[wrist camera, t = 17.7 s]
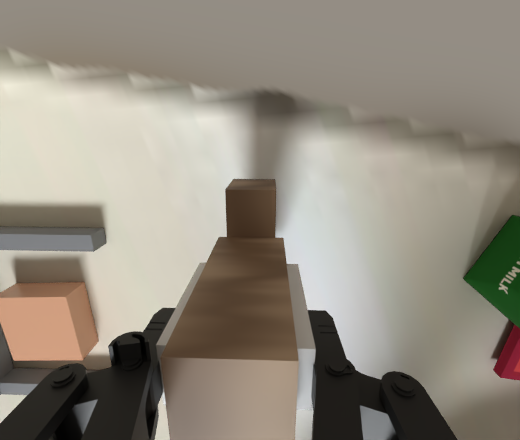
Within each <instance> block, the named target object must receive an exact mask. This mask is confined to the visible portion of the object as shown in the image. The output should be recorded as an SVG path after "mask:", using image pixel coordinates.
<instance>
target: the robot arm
mask: <svg viewBox="0 0 520 440" xmlns="http://www.w3.org/2000/svg"><path fill="white" fill-rule="evenodd" d="M205 265H206V263H200V264H199V266H198V267H197V269H196V271H195V273H194V275H193V277H192V279H191V280H190V282H189V284H188V286H187V288H186V290H185V292H184V294H183V295H182V297H181V299H180V301H179V303H178V305H177V307H176V308H162V309H161V310H159V311H158V312H157V313H155V314H154V316H153V317H152V319H151V320H150V322H149V324H148V325H147V327H146V328H145V330H144V331H143V332H129V333H125V334H123V335H121V336H118V337H117V338H116V339H114V340H113V341H112V342H111V343H110V345H109V346H108V348H109V353H110V359H111V364H112V366H111V367H110V368H107V369H104V370H99V371H95V372H90V373H87V371H86V368H85V367H84V366H83V365H81V364H77V363H76V364H68V365H65V366H62V367H59V368H58V369H56V370H54V371H52V372H51V373H50V374H48V375H47V376H46V377H45V378H44V379H43V380H42V381H41V382H40V383H39V384H38V385H37V386H36V387H35V388H34V389H33V390H32V391H31V392H30V393H29V394H28V395H27V396H26V397H25V398H24V399H23V400H22V402H21V403H20V404H19V405H18V406H17V407H16V408H15V409H14V410H13V411H12V412H11V413H10V414H9V415H8V416H7V417H6V418H5V419H4V420H3V421H2V422H1V423H0V440H154V439H155V434H156V428H157V422H158V417H159V415H158V403H159V401H160V398H161V396H162V397H163V405H166V401H165V393H164V385H163V376H162V368H161V360H160V357H161V355H162V353H163V351H164V348H165V346H166V344H167V342H168V340H169V338H170V336H171V334H172V332H173V330H174V328H175V326H176V324H177V322H178V320H179V318H180V316H181V314H182V312H183V310H184V308H185V306H186V303H187V301H188V299H189V297H190V295H191V293H192V291H193V289H194V287H195V285H196V283H197V281H198V279H199V277H200V275H201V273H202V271H203V269H204V267H205ZM287 272H288V279H289V287H290V295H291V303H292V311H293V319H294V327H295V335H296V343H297V350H298V358H299V368H298V387H297V406H296V410H311V408H312V404H313V411H314V414H313V427H312V440H457V438H456V437H455V435H454V434H453V432H452V431H451V429H450V427H449V426H448V424H447V423H446V421H445V420H444V418H443V417H442V415H441V414H440V412H439V410H438V409H437V407H436V406H435V404H434V403H433V401H432V400H431V398H430V397H429V395H428V394H427V392H426V390H425V389H424V387H423V386H422V385H421V384H420V383H419V382H418V381H417V380H416V379H414V378H413V377H411V376H409V375H407V374H404V373H402V372H395V371H393V372H387V373H386V374H385V375H383V377H382V380H380V379H377V378H373V377H370V376H367V375H364V374H362V373H360V372H358V371H356V370H355V367H354V366H353V364H352V363H351V362H350V361H349V360H347V359H346V356H345V353H344V350H343V347H342V344H341V341H340V338H339V335H338V334H337V329H336V327H335V324H334V321H333V318H332V317H331V316H330V315H329V314H328V313H327V312H326V311H317V310H307V305H306V301H305V296H304V291H303V287H302V282H301V277H300V273H299V268H298V264H287Z"/></svg>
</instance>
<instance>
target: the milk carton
mask: <svg viewBox="0 0 520 440" xmlns="http://www.w3.org/2000/svg"><path fill="white" fill-rule="evenodd" d="M463 279H464V280H465V281H466V282H467V283H469V284H470V285H471V286H472V287H473V288H474V289H475V290H477V291H478V292H479V293H480V294H481V295H482V296H483V297H484V298H486V299H487V300H488V301H489V302H490V303H491V304H492V305H493V306H495V307H496V308H497V309H498V310H499V311H500V312H501V313H503V314H504V315H505V316H506V317H507V318H508V319H509V320H511V321H512V322H513V323H514V324H515V325H516V326H517V327H519V328H520V217H519V216H515V215H512V216H511V218H510V219H509V220H508V221H507V223H506V224H505V225H504V227H503V228H502V229H501V231H500V232H499V233H498V234H497V236H496V237H495V238H494V240H493V241H492V242H491V243H490V245H489V246H488V247H487V249H486V250H485V251H484V252H483V254H482V255H481V256H480V258H479V259H478V260H477V261H476V263H475V264H474V265H473V267H472V268H471V269H470V271H469V272H468V273H467V274H466V276H465V277H464V278H463Z"/></svg>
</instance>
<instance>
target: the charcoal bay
mask: <svg viewBox="0 0 520 440" xmlns="http://www.w3.org/2000/svg"><path fill="white" fill-rule="evenodd" d="M104 244H106V238H105V232H104V228H61V227H0V250H33V251H93V252H94V251H95V250H97V249H98V248H100V247H101V246H103V245H104ZM54 370H56V369H35V368H14V367H13V364H12V360H11V357H10V354H9V350H8V347H7V344H6V340H5V337H4V334H3V330H2V327H1V324H0V395H1V394H12V395H28V394H29V393H30V392H31V391H32V390H33V389H34V388H35V387H36V386H37V385H38V384H39V383H40V382H41V381H42V380H43V379H44V378H45V377H46V376H47V375H48V374H50V373H51V372H52V371H54ZM86 371H87V373H90V372H95V371H99V370H86Z"/></svg>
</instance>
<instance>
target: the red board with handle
mask: <svg viewBox="0 0 520 440" xmlns="http://www.w3.org/2000/svg"><path fill="white" fill-rule="evenodd" d="M493 370H494V371H495V372H496V374H497V375H498V376H499V377H500V378H507V379H514V380H520V328H519V327H517V326H516V325H514V327H513V329H512V331H511V333H510V335H509V337H508V339H507V342H506V344H505V346H504V348H503V350H502V352H501V354H500V356H499V359H498V361H497V363H496V365H495V367H494V369H493Z"/></svg>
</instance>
